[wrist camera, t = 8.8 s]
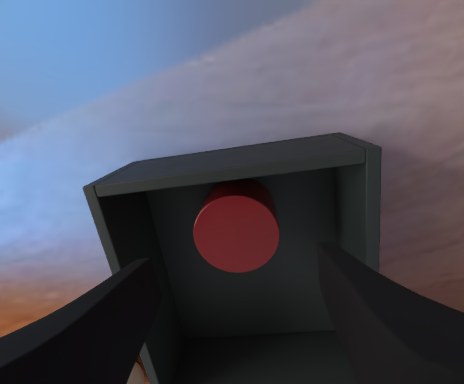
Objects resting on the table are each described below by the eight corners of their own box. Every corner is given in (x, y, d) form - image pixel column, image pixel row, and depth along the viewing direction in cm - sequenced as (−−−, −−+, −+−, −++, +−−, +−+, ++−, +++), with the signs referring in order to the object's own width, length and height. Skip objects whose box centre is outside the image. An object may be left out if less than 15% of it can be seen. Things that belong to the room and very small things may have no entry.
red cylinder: (270, 171, 16) (275, 189, 13) (278, 237, 18) (283, 269, 15) (198, 181, 17) (185, 200, 14) (211, 244, 18) (201, 276, 15)
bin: (340, 132, 16) (382, 147, 11) (345, 330, 21) (376, 407, 15) (132, 161, 18) (81, 187, 12) (181, 339, 22) (159, 412, 17)
